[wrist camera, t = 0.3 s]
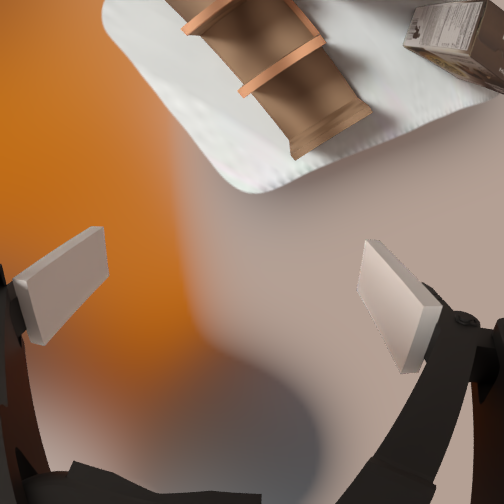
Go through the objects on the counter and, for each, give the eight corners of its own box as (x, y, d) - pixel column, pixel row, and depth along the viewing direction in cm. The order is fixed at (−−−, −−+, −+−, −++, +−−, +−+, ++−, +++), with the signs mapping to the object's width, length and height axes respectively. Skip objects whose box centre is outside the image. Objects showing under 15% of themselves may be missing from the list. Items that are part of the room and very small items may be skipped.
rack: (223, -67, 22) (212, -86, 17) (364, 98, 34) (380, 110, 28) (152, -13, 27) (128, -21, 21) (292, 143, 39) (295, 162, 33)
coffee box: (472, 40, 26) (554, 57, 13) (458, 79, 30) (536, 111, 17) (415, 4, 25) (488, -5, 13) (400, 46, 29) (469, 57, 16)
